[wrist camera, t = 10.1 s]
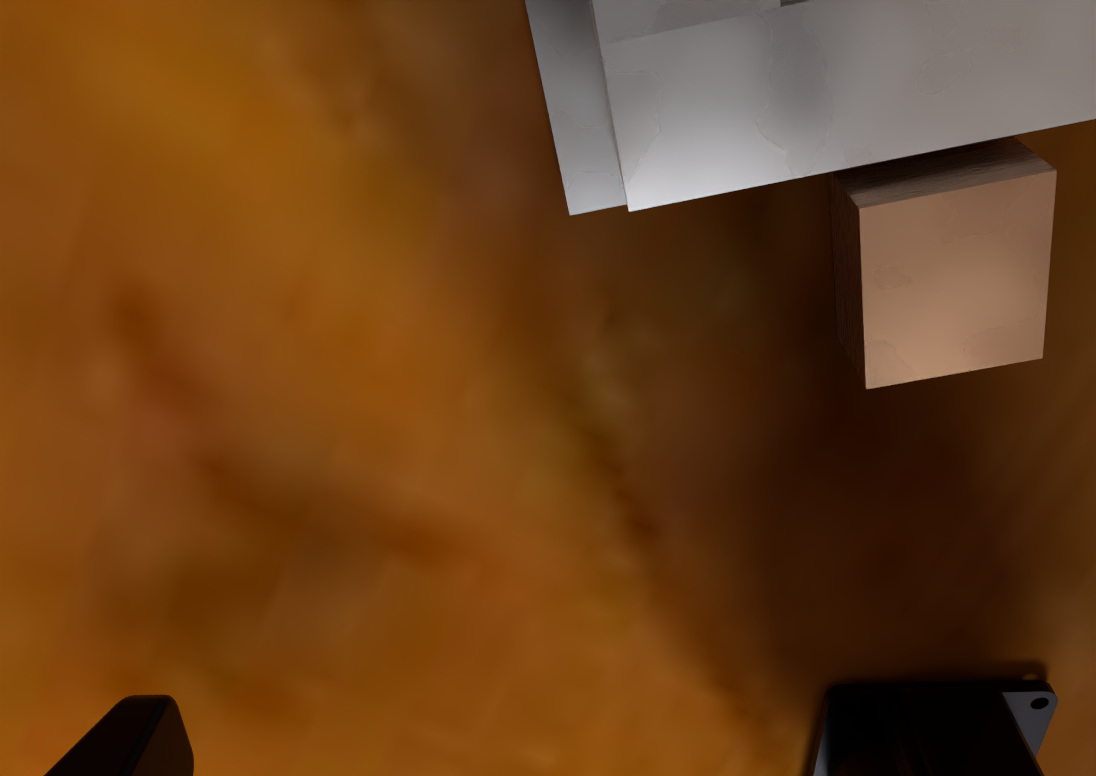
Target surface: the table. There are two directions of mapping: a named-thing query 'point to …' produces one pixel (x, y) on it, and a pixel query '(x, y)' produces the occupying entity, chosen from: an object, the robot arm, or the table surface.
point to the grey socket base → (843, 144)
